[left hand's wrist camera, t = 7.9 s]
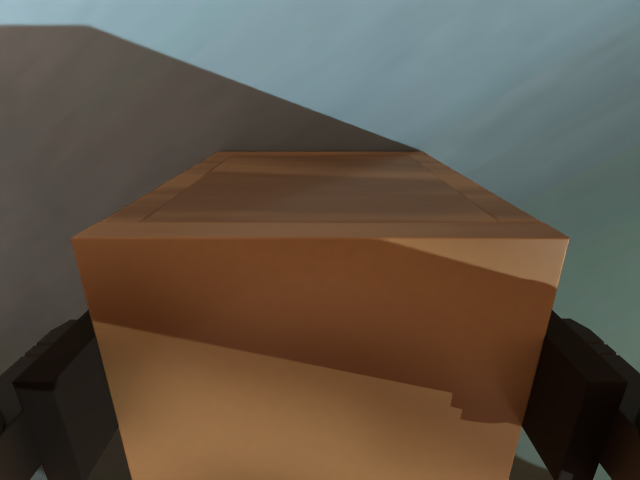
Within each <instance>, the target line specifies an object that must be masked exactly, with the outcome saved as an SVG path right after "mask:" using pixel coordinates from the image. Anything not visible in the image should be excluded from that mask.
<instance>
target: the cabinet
mask: <svg viewBox="0 0 640 480" xmlns="http://www.w3.org/2000/svg"><path fill="white" fill-rule="evenodd" d="M569 240H570V239H569V237H568V236H566V235H564V234H562V233H561V232H559V231H557V230H556V229H554V228H552V227H551V226H549V225H547V224H545V223H541V221H539V220H537V219H536V218H534V217H532V216H531V215H529V214H527V213H525V212H524V211H522V210H520V209H519V208H517V207H515V206H514V205H512V204H510V203H509V202H507V201H505V200H503V199H502V198H500V197H498V196H497V195H495V194H493V193H492V192H490V191H488V190H487V189H485V188H483V187H481V186H480V185H478V184H476V183H475V182H473V181H471V180H470V179H468V178H466V177H465V176H463V175H461V174H460V173H458V172H456V171H454V170H453V169H451V168H449V167H448V166H446V165H444V164H443V163H441V162H439V161H438V160H436V159H434V158H432V157H431V156H429V155H428V154H426V153H425V152H423V151H218V152H216V153H214V154H212V155H211V156H210V157H208V158H206V159H205V160H203V161H201V162H200V163H198V164H196V165H195V166H193V167H191V168H189V169H188V170H186V171H184V172H183V173H181V174H179V175H178V176H176V177H174V178H173V179H171V180H169V181H168V182H166V183H164V184H162V185H161V186H159V187H157V188H156V189H154V190H152V191H151V192H149V193H147V194H146V195H144V196H142V197H141V198H139V199H137V200H135V201H134V202H132V203H130V204H129V205H127V206H125V207H124V208H122V209H120V210H119V211H117V212H115V213H113V214H112V215H110V216H108V217H107V218H105V219H103V220H102V221H100V222H97V223H95V224H93V225H92V226H90V227H88V228H87V229H85V230H83V231H81V232H80V233H78V234H76V235H75V236H73V237H71V242H72V246H73V250H74V254H75V257H76V261H77V265H78V269H79V273H80V277H81V281H82V285H83V289H84V293H85V297H86V301H87V305H88V309H89V313H90V317H91V320H92V324H93V328H94V332H95V336H96V340H97V344H98V348H99V352H100V356H101V360H102V364H103V368H104V372H105V376H106V380H107V384H108V387H109V391H110V395H111V399H112V403H113V407H114V411H115V415H116V419H117V423H118V427H119V431H120V435H121V439H122V443H123V447H124V451H125V454H126V458H127V462H128V466H129V470H130V474H131V478H132V480H509V476H510V472H511V468H512V464H513V460H514V456H515V452H516V448H517V445H518V441H519V437H520V433H521V429H522V425H523V421H524V417H525V413H526V409H527V405H528V401H529V397H530V393H531V390H532V386H533V382H534V378H535V374H536V370H537V366H538V362H539V358H540V354H541V350H542V346H543V342H544V338H545V334H546V331H547V327H548V323H549V319H550V315H551V311H552V307H553V303H554V299H555V295H556V291H557V287H558V283H559V279H560V276H561V272H562V268H563V264H564V260H565V256H566V252H567V248H568V244H569Z"/></svg>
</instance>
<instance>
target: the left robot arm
mask: <svg viewBox="0 0 640 480" xmlns="http://www.w3.org/2000/svg"><path fill="white" fill-rule="evenodd" d="M522 427H523V429H524V430H525V432H526V434H527V435H528V437H529V439H530V440H531V442H532V444H533V445H534V447H535V449H536V450H537V452H538V454H539V455H540V457H541V459H542V460H543V462H544V464H545V465H546V467H547V469H548V470H549V472H550V474H551V475H552V477H553V479H554V480H593V478H594V475H595V472H596V470H597V467H598V464H599V463H600V464H601V465H602V467H603V468H604V469H605V471H606V472H607V473H608V475H609V476H610V477H611V479H612V480H640V373H639V372H637V371H636V370H635V369H634V368H633V367H632V366H631V365H630V364H628V363H627V362H626V361H625V360H624V359H623V358H622V357H620V356H619V355H616V352H615V351H614V350H613V349H611V348H610V347H609V346H608V345H605V344H604V342H603V341H602V340H601V339H600V338H599V337H598V336H597V335H596V334H594V333H593V332H592V331H591V330H590V329H588V328H586V327H585V326H583V325H581V324H579V323H577V322H575V321H574V320H572V319H561V318H560V317H559V316H558V315H557V314H556V313H555V312H554V311H553V310H552V311H551V315H550V319H549V323H548V327H547V331H546V334H545V338H544V342H543V346H542V350H541V354H540V358H539V362H538V366H537V370H536V374H535V378H534V382H533V386H532V390H531V393H530V397H529V401H528V405H527V409H526V413H525V417H524V421H523V425H522ZM117 428H118V423H117V419H116V415H115V411H114V407H113V403H112V399H111V395H110V391H109V387H108V384H107V380H106V376H105V372H104V368H103V364H102V360H101V356H100V352H99V348H98V344H97V340H96V336H95V332H94V328H93V324H92V320H91V317H90V313H89V310H88V311H87V312H86V313H85V314H84V315H83V316H81V317H80V318H79V319H78V320H69V321H68V322H66V323H64V324H62V325H60V326H59V327H57V328H55V329H53V330H51V331H50V332H49V333H48V334H47V335H46V336H45V337H43V338H42V339H41V340H40V341H39V342H38V343H37V346H33V347H32V348H31V349H30V350H29V351H28V352H27V353H25V356H24V357H21V358H20V359H19V360H18V361H16V362H15V363H14V364H13V365H12V366H11V367H10V368H9V369H7V370H6V371H5V372H4V373H3V374H2V375H1V376H0V480H30V479H31V477H32V476H33V475H34V473H35V472H36V471H37V469H38V468H39V467H40V465H41V464H42V465H43V468H44V471H45V474H46V476H47V479H48V480H86V479H87V478H88V476H89V474H90V473H91V471H92V469H93V468H94V466H95V464H96V463H97V461H98V459H99V458H100V456H101V454H102V453H103V451H104V449H105V448H106V446H107V444H108V443H109V441H110V439H111V438H112V436H113V434H114V433H115V431H116V429H117Z"/></svg>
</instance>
